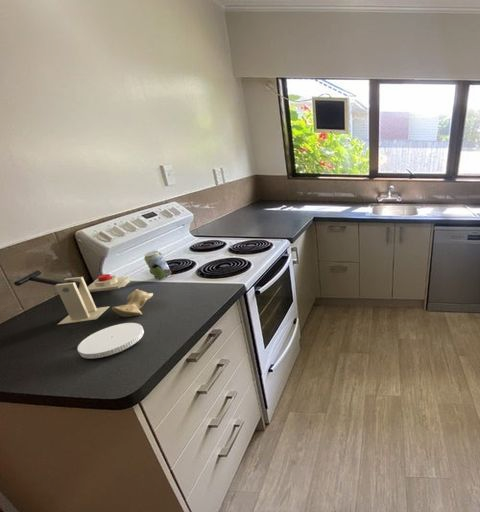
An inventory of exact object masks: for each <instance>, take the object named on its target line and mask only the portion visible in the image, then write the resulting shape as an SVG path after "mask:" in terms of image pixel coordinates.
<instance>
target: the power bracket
mask: <svg viewBox="0 0 480 512" xmlns="http://www.w3.org/2000/svg"><path fill="white" fill-rule="evenodd" d="M68 280H70V281H75V282H80V285H79V289H78V288H77V286H76V284H75V282H72V283H63V284H57V285H54V287H55V289H56V291H57V293H58V296H59V297H60V299H61V301H62V303H63V306H64V308H65V310H66V312H67V314H68V315H67V316H66V317H64V318H63V319H62V320H60V322H59V323H57V324H56V325H57V326H58V325H65V324H72V323H79V322H88V321H93V320H94V321H95V320H97V319H99V317H101V316H102V315H103V314H104V313H105V312H106V311H107V310H108V309H109V308H110V306H102V307H101V306H100V307H97V306H96V304H95V301H94V299H93V297H92V295H91V292H89V290H88V288H87V287H88V285H87V283H86V281H85V279H84V276H77V277H68V278H67V277H66V278H65V279H64V278H63V282H67V281H68Z"/></svg>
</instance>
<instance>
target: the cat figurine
mask: <svg viewBox="0 0 480 512" xmlns="http://www.w3.org/2000/svg"><path fill="white" fill-rule="evenodd" d="M153 296H154V293H153V292H147V291H145V290H141V289H139V288H136V289H135V290H133V291H132V292H130V293H129V294H128V295H127V297H126V302H127V303H126V304H121V305H116V306H112V307H111V310H112V311H113V313H115V314H117V315H118V316H120V317H122V318H128V317H129V318H131V317H138V316H141V315H143V313H142V311H141V308H143V307H144V305H145V304H146V302H147V301H148V300H150V299H151V298H152V297H153Z"/></svg>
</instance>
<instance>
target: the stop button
mask: <svg viewBox="0 0 480 512" xmlns="http://www.w3.org/2000/svg"><path fill="white" fill-rule="evenodd" d="M97 279H99V281H100V282H101V281H107V280H110V279H112V278H111V274H110V273H104V274H100V275H98V276H97Z"/></svg>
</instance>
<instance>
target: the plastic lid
mask: <svg viewBox="0 0 480 512" xmlns="http://www.w3.org/2000/svg"><path fill="white" fill-rule="evenodd" d="M144 334H145V330H144V328H143V326H142V324H140V323H137V322H124V323H119V324H115V325H111V326H107V327H104V328H102V329H100V330H98V331H96V332H94V333H91V334H90V335H89V336H87V337H86V338H84V339H83V340H81V342H80V343H79V344H78V345H77V352H78V354H79V356H80V357H82V358H84V359H100V358H104V357H109V356H112V355H115V354H118V353H120V352H123V351H125V350H127V349H129V348H130V347H132V346H134V345H135V344H136V343H138V342H139V341H140V340H141V339H142V338H143V336H144Z"/></svg>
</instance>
